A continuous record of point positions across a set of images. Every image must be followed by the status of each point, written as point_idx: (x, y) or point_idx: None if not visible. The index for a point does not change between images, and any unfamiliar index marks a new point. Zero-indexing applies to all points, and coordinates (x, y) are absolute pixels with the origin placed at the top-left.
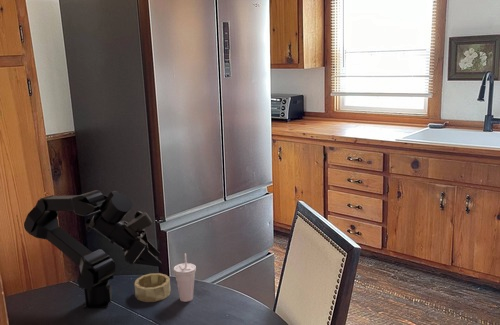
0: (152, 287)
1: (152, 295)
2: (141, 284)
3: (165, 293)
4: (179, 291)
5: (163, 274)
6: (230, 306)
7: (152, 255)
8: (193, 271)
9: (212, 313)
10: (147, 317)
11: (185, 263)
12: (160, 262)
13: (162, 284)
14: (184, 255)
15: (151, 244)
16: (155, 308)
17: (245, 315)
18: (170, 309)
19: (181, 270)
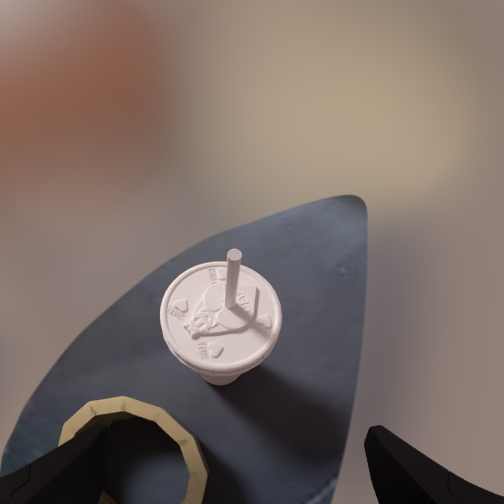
0: (190, 481)
1: (206, 481)
2: (100, 500)
3: (187, 430)
4: (234, 378)
5: (81, 411)
6: (302, 254)
7: (461, 478)
8: (262, 281)
9: (331, 302)
10: (315, 493)
11: (236, 293)
12: (391, 432)
13: (174, 437)
14: (235, 266)
15: (41, 479)
16: (260, 472)
17: (348, 236)
18: (282, 423)
19: (249, 332)
